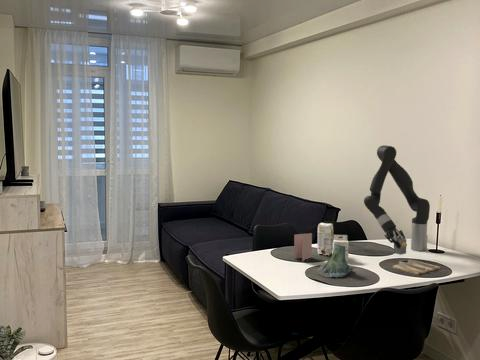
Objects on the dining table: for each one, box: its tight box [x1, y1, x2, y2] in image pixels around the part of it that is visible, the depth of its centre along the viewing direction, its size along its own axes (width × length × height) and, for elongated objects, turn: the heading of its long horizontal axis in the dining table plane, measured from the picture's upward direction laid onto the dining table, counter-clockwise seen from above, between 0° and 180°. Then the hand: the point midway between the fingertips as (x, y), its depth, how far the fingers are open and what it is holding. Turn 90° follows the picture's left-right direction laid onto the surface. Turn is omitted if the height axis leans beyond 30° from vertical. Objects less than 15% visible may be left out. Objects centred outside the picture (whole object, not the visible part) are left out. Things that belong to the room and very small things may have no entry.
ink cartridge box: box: [333, 234, 350, 262], centre depth 272 cm, size 9×5×15 cm, turn 84°
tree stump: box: [317, 244, 354, 278], centre depth 248 cm, size 18×20×18 cm
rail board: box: [392, 258, 441, 276], centre depth 256 cm, size 20×16×2 cm
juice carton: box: [316, 222, 334, 257], centre depth 285 cm, size 8×9×19 cm
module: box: [393, 238, 407, 256], centre depth 270 cm, size 5×5×8 cm
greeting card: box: [293, 232, 313, 262], centre depth 272 cm, size 11×7×15 cm, turn 108°
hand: (402, 246), depth 269 cm, fingers closed on module, 4 cm apart
